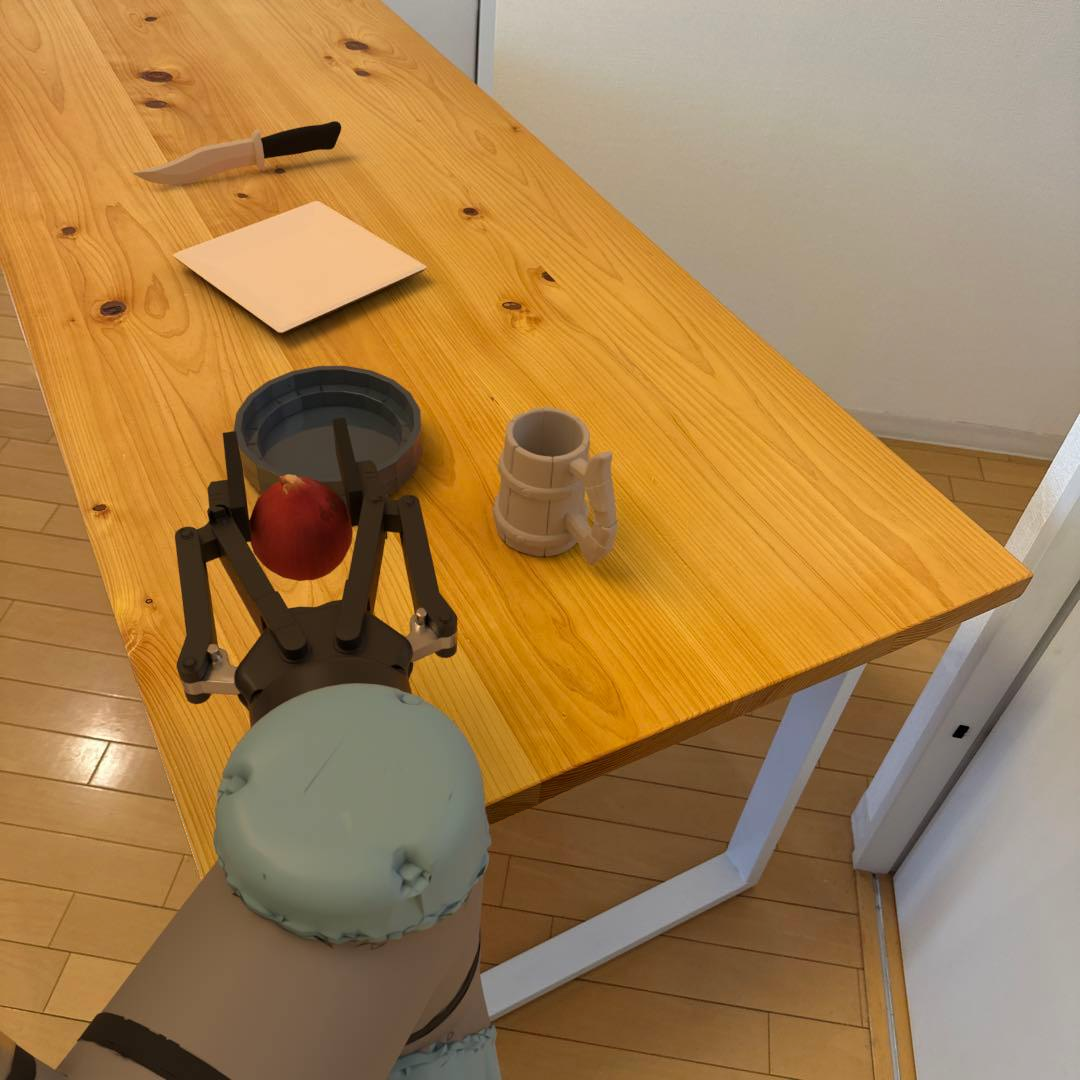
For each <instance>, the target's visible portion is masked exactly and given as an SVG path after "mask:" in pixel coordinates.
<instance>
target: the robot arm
mask: <svg viewBox="0 0 1080 1080" xmlns="http://www.w3.org/2000/svg"><path fill="white" fill-rule="evenodd" d="M332 420H333V429H334V439H335V448H336V456H337V460H338V465H339V470H340V474H341V479H342V483H343V488H344V493H345V497H346V502H347V506H348V511H349V516H350V520H351V525H352V528H353V527H357V530H356V535H355V539H354V544H353V550H352V555H351V560H350V565H349V570H348V576H347V579H345V582H344V587H343V592H342V597H341V599H336V600H330V601H328V602H325V603H322V604H320V605H317V606H294V607H288V605H287V603H286V602H285V600H284V599H283V597H282V596H281V593H280V592H279V591H278V590H275V588H274V586H273V585H272V583H271V581H270V579H269V578H268V576H267V574H266V573H265V571H264V569H263V568H262V566H261V564H260V561H258V558H257V557H256V555H255V554H254V552H253V549H252V548H251V547H250V545H249V543H251V542H252V539H251V531H250V523H249V520H250V516H249V507H248V501H247V500H248V499H247V492H246V483H245V475H244V473H243V465H242V460H241V455H240V450H239V445H238V440H237V434H236V431H234V430H233V431H226V432H222V442H223V450H224V459H225V470H226V478H227V479H222V480H214V481H210V482H209V485H208V487H207V499H208V508H207V511H206V514H207V518H208V521H207V523H206V524H204V526H201V527H199V528H196V527H193V526H183V527H181V528H178V529H177V530H176V532H175V533H174V542H175V543H174V544H175V551H176V558H177V559H176V560H177V568H178V575H179V586H180V592H181V602H182V608H183V609H182V611H183V618H184V626H185V627H184V628H185V638H184V641H183V644H182V647H181V650H180V652H179V656H178V658H177V661H176V670H177V673H178V677H179V680H180V683H181V686H182V690H183V692H184V696H185V699H186V701H187V702H189V704H192V705H201V704H204V703H205V702H207V701H208V700H209V699H210V698H211V696H212V694H215V695H228V696H232V695H233V696H237V698H238V701H239V702H240V703H241V704H242V705H243V706H244V707H245V709H246V710H247V712H248V718H249V729H248V730H247V731H246V732H245V734H244V735H243V736H242V737H241V739H239V741H238V742H237V744H236V745H235V746H234V748H233V750H232V751H231V753H230V755H229V756H228V757H229V758H227V762H226V764H225V767H224V769H223V771H222V774H221V775H222V779H221V781H220V783H219V786H218V789H217V793H216V794H217V797H216V806H215V809H214V816H215V829H214V831H213V839H212V841H213V846H214V851H215V854H216V855H217V859H216V862H215V863H214V864H213V865H212V866H211V868H210V869H209V870H208V871H207V873H206V874H205V876H204V877H203V878H202V879H201V881H200V882H199V883H198V884H197V886H196V887H195V889H194V890H193V891H192V892H191V893H190V895H189V896H188V897H187V899H186V900H185V901H184V902H183V904H182V905H181V906H180V908H179V909H178V910H177V911H176V913H175V914H174V915H173V917H172V918H171V919H170V921H169V922H168V924H167V925H166V926H165V927H164V929H163V930H162V931H161V933H160V934H159V935H158V936H157V938H156V939H155V941H154V942H153V943H152V945H151V946H150V947H149V948H148V950H147V951H146V952H145V954H144V955H143V956H142V958H141V959H140V960H139V962H137V965H135V967H134V968H133V969H132V971H131V972H130V974H129V975H128V976H127V977H126V979H125V980H124V981H123V983H122V984H121V985H120V987H119V988H118V989H117V991H116V992H115V993H114V995H112V997H111V998H110V999H109V1001H108V1003H107V1004H106V1005H105V1007H103V1009H102V1010H101V1011H100V1012H99V1013H96V1015H95V1016H94V1018H93V1019H92V1020H91V1022H89V1024H88V1026H87V1027H85V1028H86V1029H84V1031H83V1032H82V1034H81V1035H80V1036H79V1038H77V1039H76V1043H75V1044H74V1045H73V1047H72V1048H71V1049H70V1050H69V1052H68V1053H67V1055H65V1057H64V1058H63V1059H62V1060H61V1061H60V1062H59V1064H58V1065H57V1067H56V1068H54V1067H52V1066H49V1065H48V1064H46V1063H45V1062H44V1061H42V1060H41V1059H39V1058H37V1057H36V1056H34V1055H32V1054H31V1053H30V1052H28V1051H27V1050H26V1049H24V1048H23V1047H21V1046H20V1045H18V1044H17V1042H16V1041H14V1040H13V1039H12V1038H10V1037H9V1036H8V1035H7V1034H5V1033H4V1032H3V1031H1V1030H0V1080H502V1074H501V1068H500V1064H499V1058H498V1051H497V1047H496V1039H497V1036H498V1031H497V1029H496V1026H495V1023H492V1021H491V1019H490V1015H489V1010H488V1007H487V1003H486V999H485V994H484V989H483V983H482V977H481V956H482V927H481V926H482V925H481V919H482V905H483V895H484V885H485V883H484V882H485V874H486V873H485V872H486V871H487V869H488V867H489V864H490V854H489V851H488V849H489V847H490V846H491V845H492V838H491V834H490V823H489V821H488V813H487V811H486V801H485V786H484V780H483V773H482V770H481V766H480V763H479V760H478V758H477V756H476V753H475V751H474V749H473V747H472V745H471V743H470V741H469V740H468V738H467V737H466V735H465V734H464V732H463V731H462V730H461V729H460V727H459V726H458V725H457V724H456V723H455V722H454V721H453V720H452V718H451V717H449V716H448V715H447V714H446V713H445V712H443V711H442V710H441V709H440V708H438V707H437V706H436V705H433V704H432V703H430V702H428V701H427V700H426V699H424V698H423V697H420V696H419V695H417V694H413V691H412V687H411V684H410V678H411V676H412V673H413V670H414V663H415V662H417V661H419V660H423V659H424V658H426V657H429V656H430V655H433V654H435V655H436V656H437V657H439V658H441V659H448V658H452V657H454V656H455V655H456V654H457V652H458V615H457V614H456V612H455V611H454V610H453V608H452V607H451V605H449V603H448V602H447V600H446V599H445V598H444V596H443V595H442V594H441V592H440V589H439V583H438V578H437V574H436V569H435V566H434V561H433V556H432V551H431V547H430V543H429V538H428V534H427V529H426V525H425V520H424V515H423V511H422V505H421V502H420V499H419V497H417V496H416V495H414V494H404V495H402V496H400V497H399V498H398V499H395V498H394V499H393V498H390V497H388V496H385V495H384V494H383V492H382V488H381V484H380V480H379V476H378V472H377V468H376V465H375V464H374V463H373V462H372V461H371V460H367V461H360V462H355V458H354V453H353V449H352V445H351V441H350V436H349V432H348V428H347V424H346V419H345V418H339V419H332ZM388 533H397V534H398V535H399V539H400V544H401V550H402V555H403V560H404V566H405V572H406V576H407V582H408V587H409V592H410V596H411V597H410V598H411V603H412V607H413V611H414V614H413V615H412V616H411V617H410V619H409V633H408V634H407V635H406V636H405V635H403V634H402V633H400V632H399V631H398V630H396V629H394V627H392V626H390V625H389V624H387V623H386V622H384V621H383V620H382V619H380V618H379V617H377V616H376V615H375V607H376V601H377V595H378V588H379V584H380V583H379V582H380V576H381V569H382V563H383V557H384V553H385V552H384V551H385V545H386V540H388ZM217 559H219V561H220V563H221V565H222V567H223V569H224V570H225V572H226V574H227V576H228V578H229V579H230V581H231V583H232V585H233V587H234V588H235V590H236V592H237V594H238V596H239V598H240V599H241V601H242V603H243V604H244V606H245V608H246V610H247V612H248V614H249V615H250V617H251V620H252V621H253V623H254V624H255V627H256V629H257V630H258V632H259V634H260V635H259V636H258V638H257V639H256V641H255V642H254V644H253V645H252V646H251V648H250V649H249V650H248V651H247V653H246V654H245V656H244V657H243V658H242V660H241V661H240V663H239V664H238V665H237V666H235V665H233V664H231V661H230V657H229V654H228V651H227V650H225V649H224V648H220V646H219V642H218V641H219V640H218V635H217V627H216V621H215V614H214V613H215V612H214V607H213V600H212V593H211V587H210V580H209V579H210V578H209V573H208V566H207V565H208V564H207V563H209V562H211V561H214V560H217Z"/></svg>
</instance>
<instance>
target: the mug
mask: <svg viewBox="0 0 1080 1080" xmlns="http://www.w3.org/2000/svg"><path fill="white" fill-rule="evenodd" d="M590 434H591V433H590V430H589V428H588V426H587V424H586V423H585V422H584V421H583V419H581V418H580V417H578V416H576V415H574V414H572V413H570V412H569V411H567V410H565V409H561V408H557V407H553V406H543V407H542V406H539V407H534V408H530V409H529V410H528V411H526V412H521V413H518V414H516V415H514V416H513V417H512V418H511V420H509V421H508V423H507V425H506V427H505V435H504V447H503V450H501V452H500V454H499V459H498V463H497V471H498V473H499V475H500V483H499V491H498V492H497V494H496V496H495V499H494V502H493V507H492V516H493V520H494V523H495V525H496V530H497V533H498V535H499V537H500V538H501V541H503V542H505V544H506V545H507V546H508V547H509V548H511V549H513V550H515V551H516V552H520V553H523V554H525V555H529V556H533V557H544V556H545V557H553V556H557V555H560V554H564V553H565V552H567V551H570V550H571V549H572V548H573V547H574V546H575V545H576V544H577V545H578V546H579V548H580V551H581V553H582V556H583V557H584V559H585V561H586V563H587V564H588V565H589V566H594V565H595V564H597V563H599V562H600V561H601V560H602V559H604V558H606V557H608V556H609V555H610V554H611V552H612V551H613V549H614V542H615V539H616V536H617V532H618V529H619V520H618V519H617V508H616V507H617V506H616V497H615V492H614V484H613V481H614V479H613V478H612V460H613V451H611V450H608V451H604V452H599V453H595V454H594V455H593V456H592V457H590V445H591V435H590ZM586 494H587V499H588V502H589V503H588V502H587V501H586ZM588 504H589V505H590V507H589V505H588ZM590 508H591V509H592V510H593V515H594V516H593V521H592V527H591V526H590V524H589V523H588V519H589V512H590Z"/></svg>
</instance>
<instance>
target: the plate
mask: <svg viewBox="0 0 1080 1080" xmlns="http://www.w3.org/2000/svg"><path fill="white" fill-rule="evenodd" d="M172 256H173V258H174V259H176V260H177V261H178V262H179V263H181V264H182V265H183V266H185V267H186V268H187V269H189V270H190V271H192V272H193V273H194V274H196V275H197V276H198V277H200V278H202V279H203V280H204V281H205V282H207V283H208V284H210V285H211V286H212V287H214V288H215V289H217V290H218V291H219V292H221V293H222V294H223V295H225V296H226V297H228V298H229V299H230V300H232V301H233V302H235V303H236V304H237V305H239V307H242V308H243V309H245V311H247V312H249V313H250V314H251V315H253V316H254V317H255V318H257V319H258V320H260V321H261V323H264V324H265V325H266V326H268V328H269V327H270V328H271V329H272V330H273V331H275V332H276V333H277V334H279V335H284V334H286V333H289V332H292V331H294V330H296V329H298V328H300V327H302V326H304V325H307V324H309V323H311V322H314V321H317V320H318V319H320V318H322V317H325V316H327V315H329V314H331V313H333V312H336V311H338V310H341V309H342V308H345V307H347V306H350V305H351V304H354V303H356V302H358V301H360V300H363V299H366V298H367V297H369V296H371V295H373V294H376V293H378V292H381V291H383V290H384V289H387V288H389V287H391V286H393V285H396V284H398V283H400V282H402V281H405V280H408V279H409V278H412V277H414V276H416V275H418V274H421V273H423V272H424V271H425V270H426V269H427V265H425V263H422V262H421V261H419V260H418V259H416V258H414V257H413V256H410V255H408V254H407V253H405V252H404V251H402V250H400V249H399V248H397V247H396V246H394V245H392V244H391V243H389V242H388V241H386V240H384V239H383V238H381V237H379V236H378V235H376V234H374V233H372V232H371V231H369V230H368V229H366V228H365V227H362V226H361V225H360V224H358V223H356V222H355V221H353V220H351V219H349V218H348V217H347V216H344V215H343V214H341V213H340V212H338V211H336V210H335V209H334V208H333V209H332V207H329V206H328V205H327V204H324V203H323V202H322V201H319V200H314V201H311V202H308V203H305V204H303V205H300V206H297V207H295V208H293V209H290V210H287V211H284V212H281V213H279V214H276V215H273V216H270V217H268V218H265V219H262V220H260V221H258V222H254V223H252V224H249V225H247V226H244V227H241V228H239V229H236V230H233V231H229V232H228V233H225V234H223V235H220V236H217V237H215V238H211V239H209V240H206V241H204V242H201V243H198V244H195V245H193V246H190V247H187V248H185V249H182V250H180V251H177V252H175V253H173V255H172Z"/></svg>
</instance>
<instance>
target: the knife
mask: <svg viewBox="0 0 1080 1080" xmlns="http://www.w3.org/2000/svg"><path fill="white" fill-rule="evenodd" d="M341 132H342V124H341V123H340V122H339V121H337V120H333V121H330V122H326V123H322V124H314V125H306V126H300V127H295V128H291V129H286V130H283V131H278V132H276V133H273V134H270V135H266V136H263V137H261V131H260V129H259V128H258V129H254V130H253V131H252V133H251V136H250V137H248V138H243V139H237V140H236V139H235V140H232V141H225V142H221V143H215V144H210V145H209V144H208V145H205V146H201V147H198V148H196V149H194V150H192V151H189V152H188V153H186V154H184V155H182V156H180V157H178V158H176V159H173V160H171V161H168V162H164V163H161V164H158V165H155V166H151V167H148V168H144V169H141V170H137V171H134V172H132V174H133V175H135V176H136V177H138V178H140V179H142V180H144V181H147V182H149V183H153V184H158V185H166V186H182V185H183V186H184V185H189V184H193V183H196V182H200V181H201V180H202V181H203V180H204V179H206V178H209V177H211V176H214V175H217V174H221V173H224V172H227V171H231V170H236V169H241V168H247V167H251V166H257V168H258V169H259V170H260V171H262V172H264V171H266V168H265V159H272V158H278V157H286V156H292V155H300V154H303V153H308V152H314V151H331V150H334V148H335V147H336V145H337V142H338V139H339V137H340V134H341Z"/></svg>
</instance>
